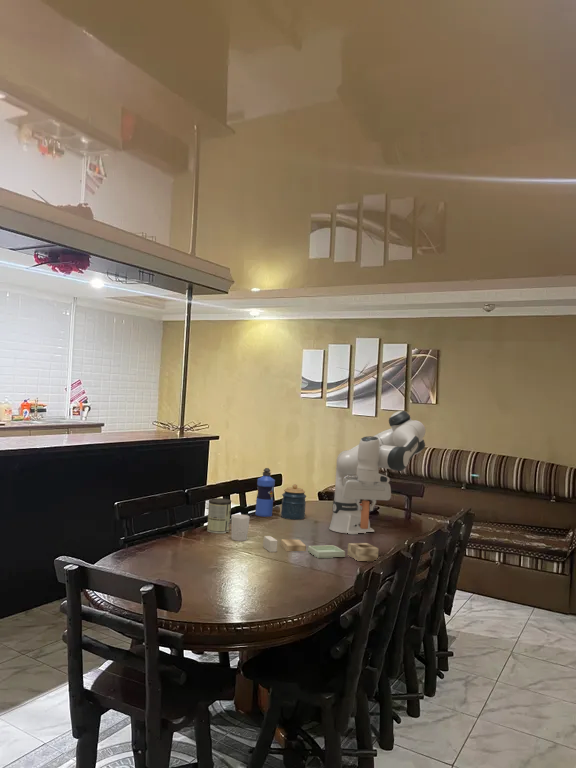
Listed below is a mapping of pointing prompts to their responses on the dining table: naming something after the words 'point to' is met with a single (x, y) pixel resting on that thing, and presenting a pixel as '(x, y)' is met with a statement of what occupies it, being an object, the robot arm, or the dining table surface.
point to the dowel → (365, 514)
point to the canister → (293, 503)
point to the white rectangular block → (270, 544)
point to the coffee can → (219, 515)
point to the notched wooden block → (293, 545)
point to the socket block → (362, 551)
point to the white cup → (239, 527)
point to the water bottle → (265, 494)
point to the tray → (326, 551)
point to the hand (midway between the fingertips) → (365, 510)
